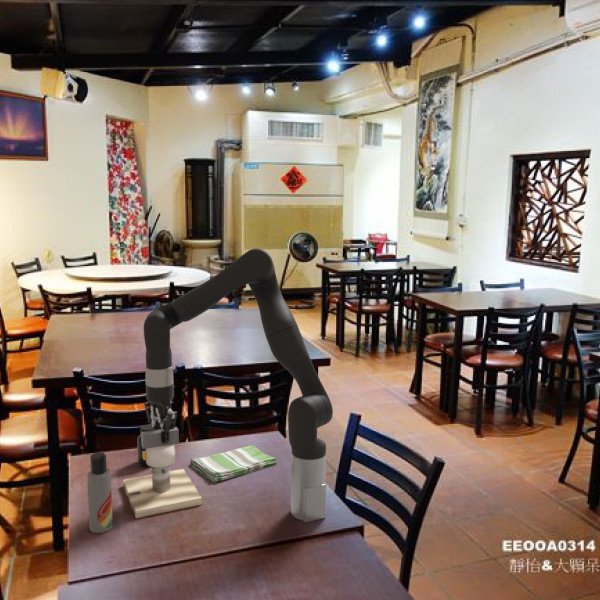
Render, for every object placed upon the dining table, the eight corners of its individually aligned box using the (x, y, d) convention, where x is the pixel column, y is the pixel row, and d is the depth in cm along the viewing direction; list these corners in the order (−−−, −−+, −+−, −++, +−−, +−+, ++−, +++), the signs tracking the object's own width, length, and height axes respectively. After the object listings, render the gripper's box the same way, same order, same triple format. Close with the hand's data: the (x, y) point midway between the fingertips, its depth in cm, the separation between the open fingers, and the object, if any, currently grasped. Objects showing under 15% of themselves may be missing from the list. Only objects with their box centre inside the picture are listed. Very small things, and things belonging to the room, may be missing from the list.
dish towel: (188, 465, 191) (188, 455, 190) (249, 448, 204) (249, 438, 204) (215, 485, 177) (214, 474, 177) (277, 466, 191) (278, 455, 190)
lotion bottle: (116, 527, 152) (114, 454, 149) (96, 536, 148) (93, 461, 145) (105, 519, 156) (102, 447, 153) (85, 527, 152) (81, 454, 149)
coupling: (174, 452, 174) (174, 423, 172) (181, 463, 167) (181, 433, 165) (140, 458, 170) (139, 428, 168) (145, 470, 162) (144, 438, 161)
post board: (201, 504, 165) (201, 470, 163) (136, 518, 157) (134, 483, 155) (183, 474, 183) (183, 444, 181) (123, 485, 175) (122, 454, 173)
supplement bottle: (156, 467, 187) (155, 431, 185) (135, 467, 187) (134, 431, 185) (161, 458, 194) (161, 423, 192) (141, 458, 194) (140, 423, 192)
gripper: (185, 384, 162) (187, 444, 165) (157, 374, 172) (159, 430, 175) (161, 390, 157) (163, 452, 160) (134, 379, 167) (136, 437, 170)
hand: (161, 440), depth 167 cm, fingers closed on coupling, 3 cm apart
